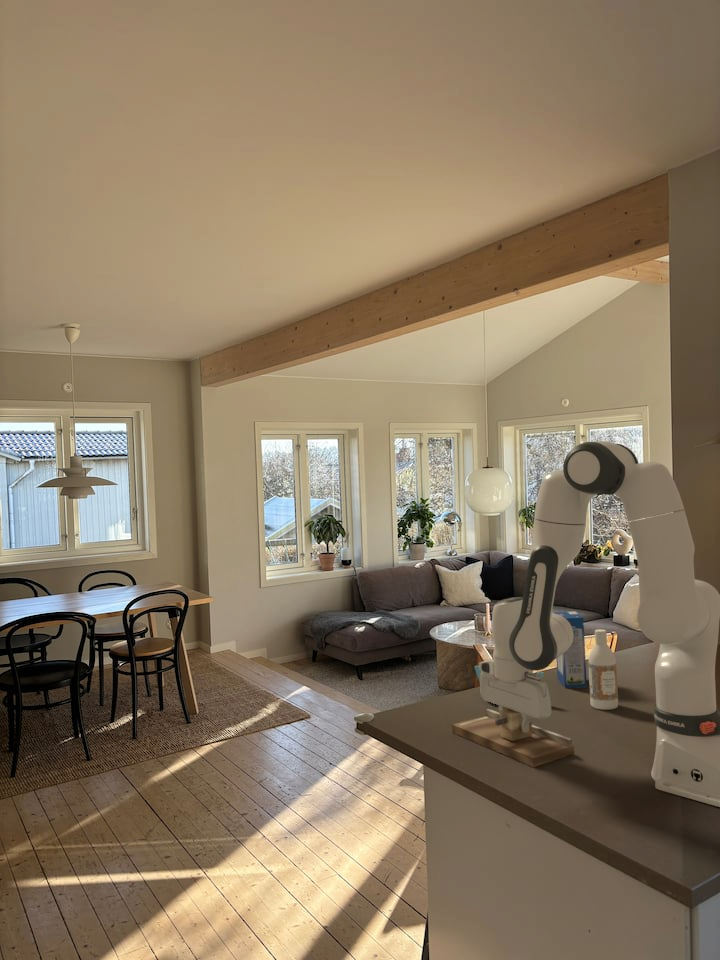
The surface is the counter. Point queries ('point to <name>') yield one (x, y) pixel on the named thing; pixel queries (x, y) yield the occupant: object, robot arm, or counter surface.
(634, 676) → the counter surface
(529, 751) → the walnut board
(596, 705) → the bath foam
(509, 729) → the wooden block with pegs
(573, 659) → the milk carton
